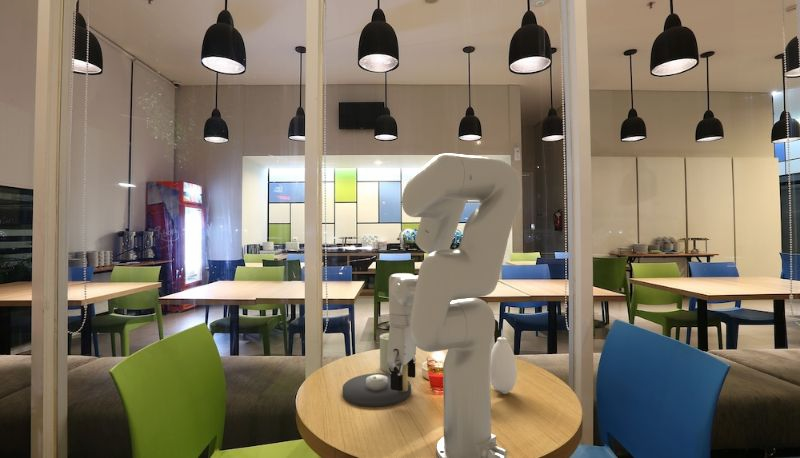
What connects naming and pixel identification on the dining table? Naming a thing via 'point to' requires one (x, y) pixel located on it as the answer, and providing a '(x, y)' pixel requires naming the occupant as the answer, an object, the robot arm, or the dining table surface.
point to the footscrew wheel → (376, 390)
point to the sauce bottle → (503, 366)
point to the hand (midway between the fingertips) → (403, 382)
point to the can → (384, 353)
